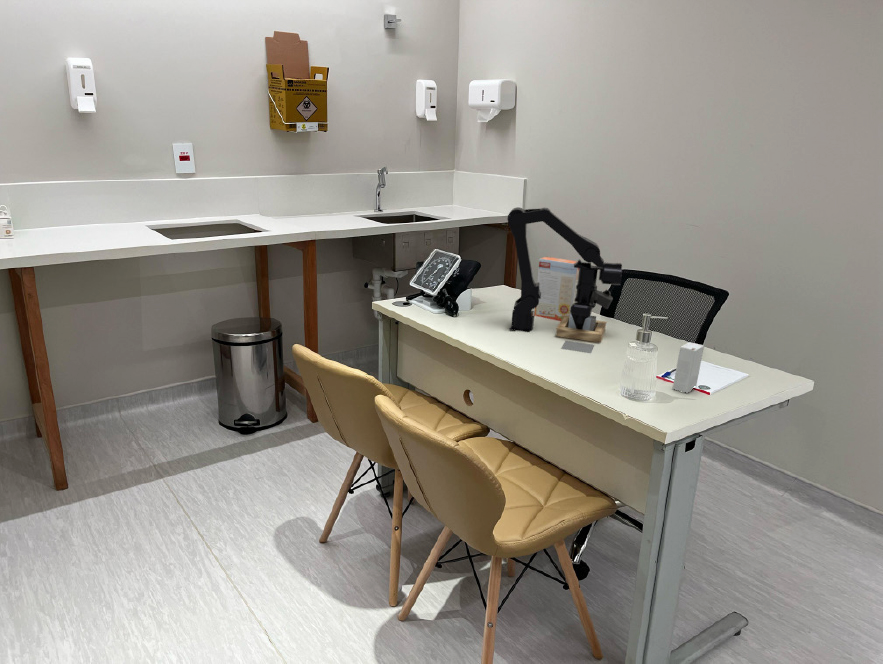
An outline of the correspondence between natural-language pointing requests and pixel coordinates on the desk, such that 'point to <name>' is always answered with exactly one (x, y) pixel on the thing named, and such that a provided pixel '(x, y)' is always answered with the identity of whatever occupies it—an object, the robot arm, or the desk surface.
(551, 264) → the cracker box
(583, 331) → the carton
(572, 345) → the rubber mat
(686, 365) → the skincare box
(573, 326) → the box
